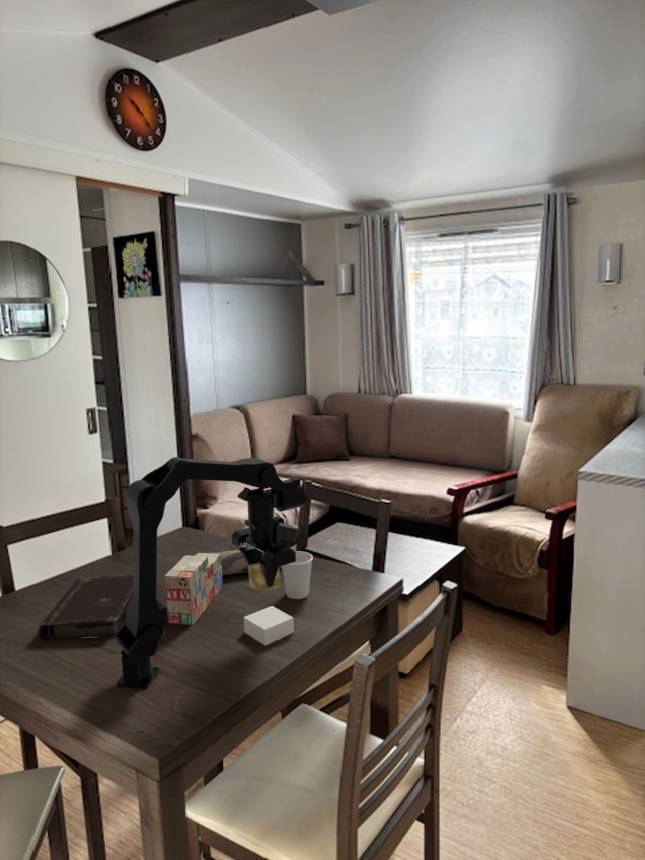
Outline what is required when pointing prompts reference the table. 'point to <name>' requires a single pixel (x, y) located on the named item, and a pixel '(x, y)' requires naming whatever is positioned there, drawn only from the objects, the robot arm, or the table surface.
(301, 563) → the dixie cup
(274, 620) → the ivory block
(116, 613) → the diary
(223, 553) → the decorative bottle
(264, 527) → the robot arm
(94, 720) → the table surface
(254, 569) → the mustard cube
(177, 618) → the stack of blocks
